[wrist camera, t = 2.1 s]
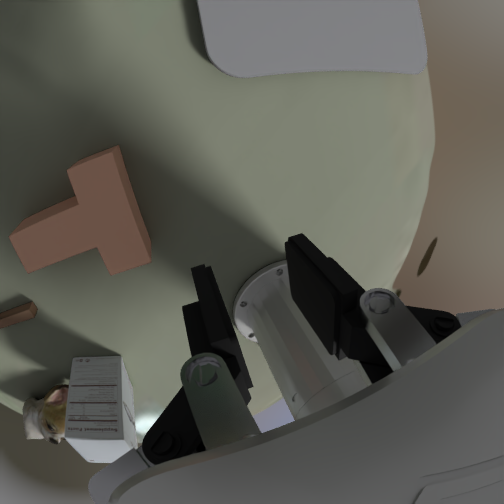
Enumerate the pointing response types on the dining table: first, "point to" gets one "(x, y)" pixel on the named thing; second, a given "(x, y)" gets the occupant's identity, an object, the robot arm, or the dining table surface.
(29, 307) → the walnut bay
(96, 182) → the t block
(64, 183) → the dining table surface
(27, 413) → the ceramic sculpture
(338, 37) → the tablet
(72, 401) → the supplement box
